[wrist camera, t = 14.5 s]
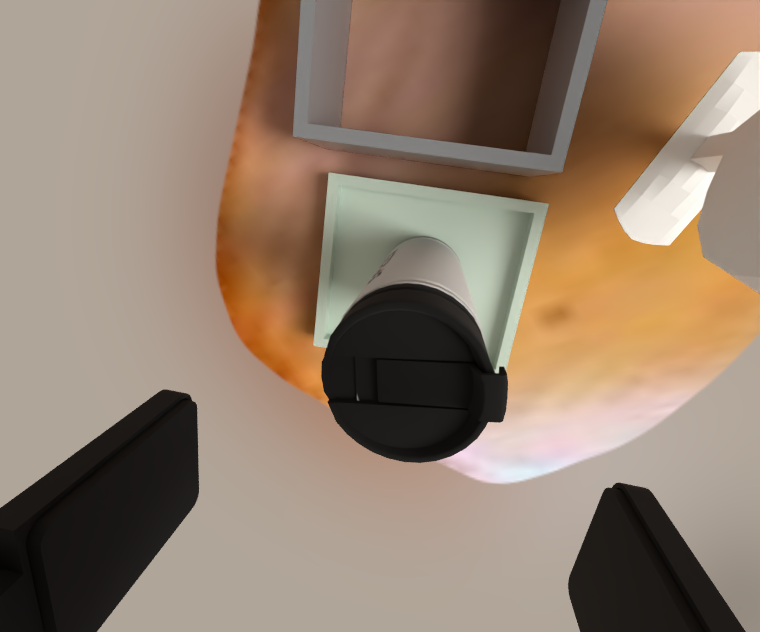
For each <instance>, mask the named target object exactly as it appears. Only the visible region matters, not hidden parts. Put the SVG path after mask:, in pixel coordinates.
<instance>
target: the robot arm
mask: <svg viewBox="0 0 760 632" xmlns="http://www.w3.org/2000/svg"><path fill="white" fill-rule="evenodd" d="M197 430H198V429H197V405H196V403H195V402H193V401H192V399H191V397H190V395H188V394H186V393H181V392H176V391H171V390H162V391H160V392H158V393H157V394H156V395H154V396H153V397H151V398H150V399H149V400H147V401H146V402H145V403H143V404H142V405H141V406H139V407H138V408H136V409H135V410H134V411H132V412H131V413H130V414H128V415H127V416H126V417H124V418H123V419H121V420H120V421H119V422H117V423H116V424H115V425H114V426H112V427H111V428H109V429H108V430H106V431H105V432H104V433H102V434H101V435H100V436H98V437H97V438H96V439H94V440H93V441H91V442H90V443H89V444H87V445H86V446H85V447H83V448H82V449H80V450H79V451H78V452H76V453H75V454H74V455H72V456H71V457H70V458H68V459H67V460H66V461H64V462H63V463H62V464H60V465H59V466H57V467H56V468H55V469H53V470H52V471H50V472H49V473H48V474H46V475H45V476H44V477H42V478H41V479H40V480H38V481H37V482H35V483H34V484H33V485H32V486H30V487H29V488H27V489H26V490H25V491H23V492H22V493H20V494H19V495H18V496H16V497H15V498H14V499H12V500H11V501H9V502H8V503H7V504H5V505H4V506H3V507H1V508H0V632H97V631H98V629H99V628H100V627H101V626H102V624H103V623H104V622H105V620H106V619H107V618H108V616H109V615H110V614H111V613H112V611H113V610H114V609H115V608H116V606H117V605H118V604H119V602H120V601H121V600H122V599H123V597H124V596H125V595H126V593H127V592H128V591H129V589H130V588H131V587H132V585H133V584H134V583H135V582H136V580H137V579H138V578H139V576H140V575H141V574H142V573H143V571H144V570H145V569H146V568H147V566H148V565H149V564H150V562H151V561H152V560H153V558H154V557H155V556H156V555H157V553H158V552H159V551H160V549H161V548H162V547H163V546H164V544H165V543H166V542H167V540H168V539H169V538H170V537H171V535H172V534H173V533H174V531H175V530H176V529H177V527H178V526H179V525H180V524H181V522H182V521H183V520H184V518H185V517H186V516H187V515H188V513H189V512H190V511H191V509H192V508H193V506H194V505H195V503H196V500H197V498H198V494H199V475H198V474H199V473H198V433H197V432H198V431H197ZM568 589H569V596H570V600H571V603H572V606H573V609H574V613H575V616H576V619H577V623H578V626H579V629H580V632H745V630H744V629H743V627H742V626H741V624H740V623H739V621H738V620H737V618H736V617H735V615H734V614H733V612H732V611H731V609H730V608H729V606H728V605H727V603H726V602H725V600H724V599H723V597H722V596H721V594H720V593H719V591H718V590H717V589H716V587H715V585H714V584H713V582H712V581H711V580H710V578H709V577H708V575H707V574H706V572H705V571H704V569H703V568H702V566H701V565H700V563H699V562H698V560H697V559H696V557H695V556H694V554H693V553H692V551H691V550H690V548H689V547H688V545H687V544H686V542H685V541H684V539H683V538H682V537H681V535H680V534H679V532H678V531H677V529H676V528H675V526H674V525H673V523H672V522H671V520H670V519H669V517H668V516H667V514H666V513H665V511H664V510H663V508H662V507H661V505H660V504H659V502H658V501H657V499H656V498H655V497H654V495H653V494H652V492H651V491H650V490H649V489H646V488H643V487H638V486H633V485H628V484H623V483H616V484H615V485H613V487H612V488H606V489H605V490H604V492H603V494H602V496H601V499H600V501H599V504H598V506H597V509H596V512H595V514H594V516H593V519H592V521H591V524H590V526H589V529H588V532H587V534H586V536H585V539H584V541H583V544H582V547H581V549H580V552H579V554H578V556H577V559H576V561H575V564H574V566H573V569H572V572H571V574H570V577H569V583H568Z"/></svg>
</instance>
